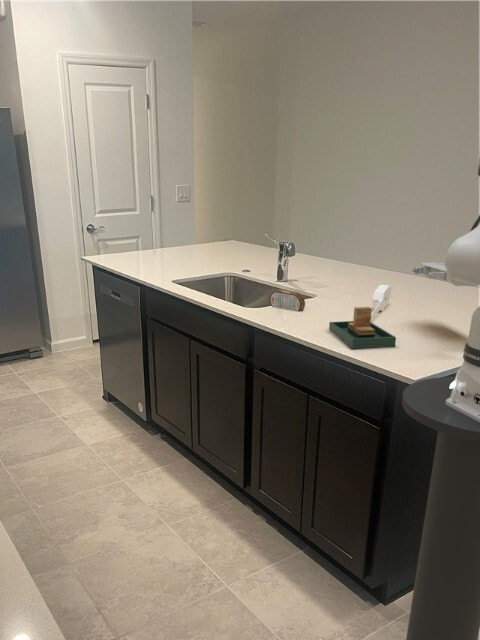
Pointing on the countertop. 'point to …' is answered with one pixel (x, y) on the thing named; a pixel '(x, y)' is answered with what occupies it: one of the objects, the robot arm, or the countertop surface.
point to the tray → (379, 339)
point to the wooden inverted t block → (361, 323)
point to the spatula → (380, 299)
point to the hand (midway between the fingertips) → (420, 273)
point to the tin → (287, 300)
